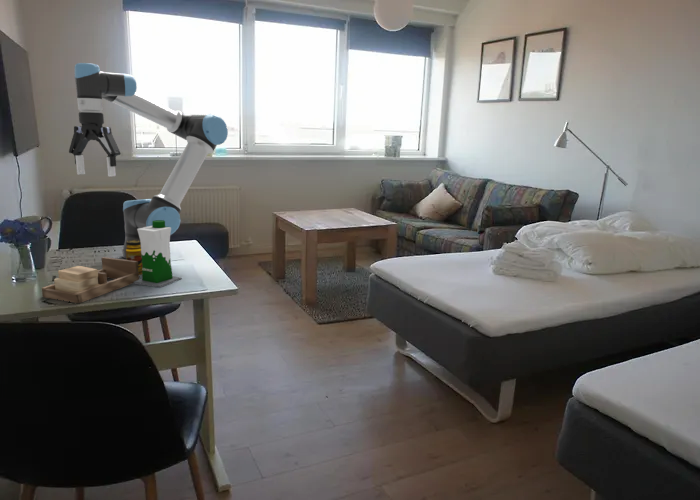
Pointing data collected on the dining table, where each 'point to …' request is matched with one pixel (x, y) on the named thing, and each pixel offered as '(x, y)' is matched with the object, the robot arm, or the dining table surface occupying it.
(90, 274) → the offcut stack
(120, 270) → the tray
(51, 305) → the dining table surface
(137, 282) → the mat
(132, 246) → the condiment
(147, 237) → the soya milk
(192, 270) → the dining table surface
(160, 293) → the dining table surface
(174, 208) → the robot arm
